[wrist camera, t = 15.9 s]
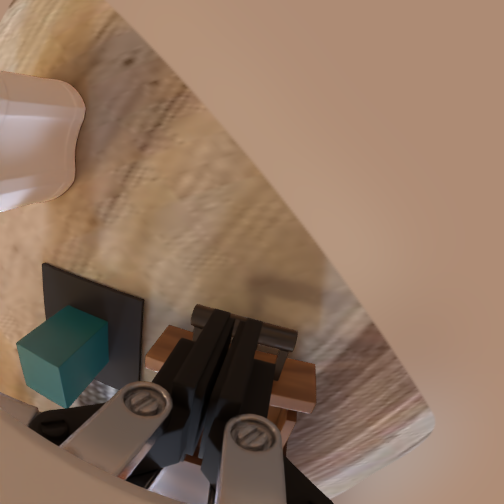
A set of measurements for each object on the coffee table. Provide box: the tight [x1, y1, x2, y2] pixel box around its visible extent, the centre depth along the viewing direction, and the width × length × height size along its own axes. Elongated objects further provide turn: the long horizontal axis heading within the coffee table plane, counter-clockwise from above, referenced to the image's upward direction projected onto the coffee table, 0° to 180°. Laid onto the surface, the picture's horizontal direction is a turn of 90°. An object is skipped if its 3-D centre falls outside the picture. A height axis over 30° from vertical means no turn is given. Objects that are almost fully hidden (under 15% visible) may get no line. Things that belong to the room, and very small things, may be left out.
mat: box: [42, 263, 144, 390], centre depth 28 cm, size 12×12×1 cm
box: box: [16, 305, 109, 409], centre depth 24 cm, size 5×5×8 cm
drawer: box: [145, 304, 316, 459], centre depth 24 cm, size 19×12×5 cm, turn 167°
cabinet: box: [152, 442, 287, 504], centre depth 28 cm, size 16×14×7 cm
